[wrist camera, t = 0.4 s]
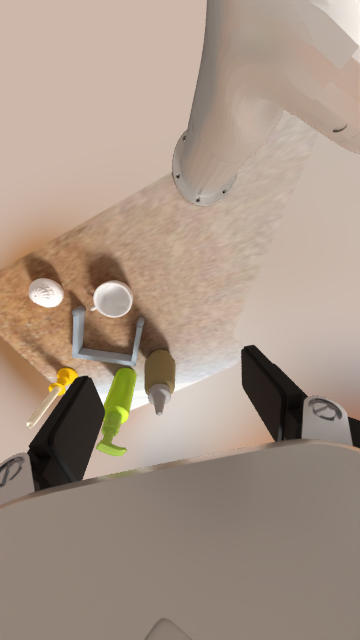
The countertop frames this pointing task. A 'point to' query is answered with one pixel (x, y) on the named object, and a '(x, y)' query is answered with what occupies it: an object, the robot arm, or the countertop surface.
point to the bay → (98, 354)
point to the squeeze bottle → (159, 378)
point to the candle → (53, 393)
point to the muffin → (46, 292)
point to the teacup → (113, 299)
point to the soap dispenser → (117, 409)
